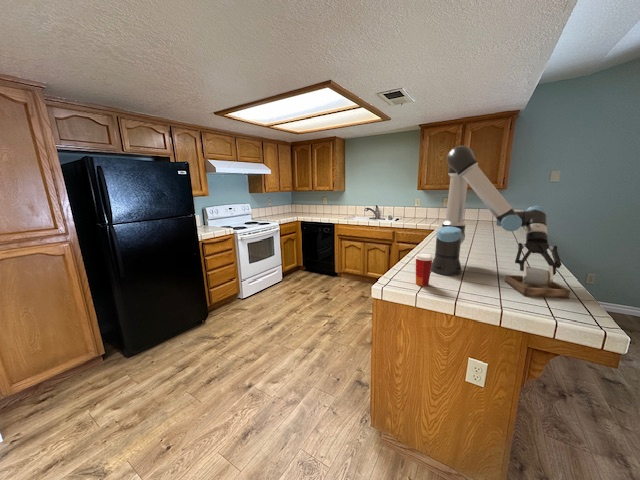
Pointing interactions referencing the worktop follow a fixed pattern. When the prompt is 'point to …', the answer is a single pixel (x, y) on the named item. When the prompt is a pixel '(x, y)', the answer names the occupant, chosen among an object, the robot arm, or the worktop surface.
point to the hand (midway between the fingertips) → (537, 279)
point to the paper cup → (423, 269)
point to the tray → (537, 288)
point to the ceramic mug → (536, 276)
